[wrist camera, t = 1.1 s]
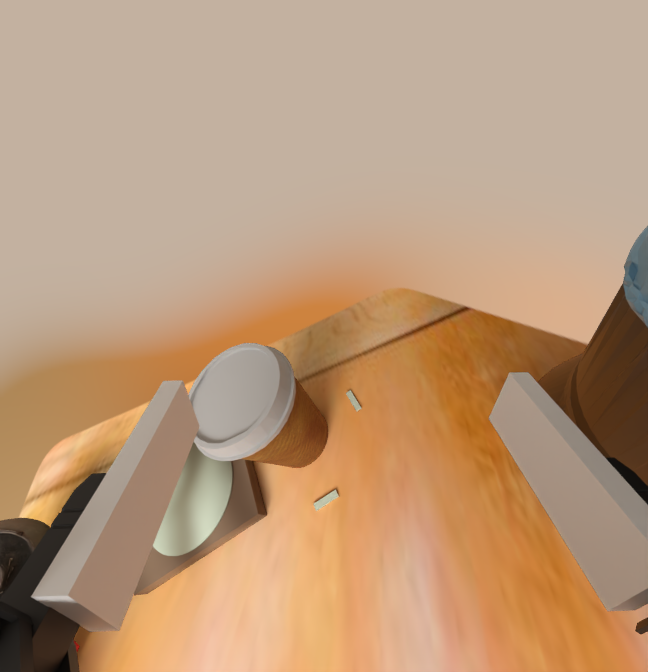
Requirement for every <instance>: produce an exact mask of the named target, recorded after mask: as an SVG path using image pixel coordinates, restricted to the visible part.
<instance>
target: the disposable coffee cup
mask: <svg viewBox="0 0 648 672" xmlns="http://www.w3.org/2000/svg"><path fill="white" fill-rule="evenodd" d="M188 396H189V399H190V401H191V404H192V407H193V409H194V412H195V415H196V418H197V420H198V423H199V426H200V427H199V429H198V432H197V434H196V437H195V439H194V443H195V444H196V446H197V448H198V449H199V450H200V451H201V452H202V453H203V454H204V455H205V456H207V457H209V458H211V459H214V460H218V461H234V460H238V459H245V460H251V461H257V462H263V463H269V464H275V465H282V466H288V467H293V468H301V467H305V466H307V465H309V464H311V463H312V462H313V461H315V460H316V459H317V458H318V457H319V456H320V455H321V453H322V451H323V449H324V448H325V445H326V442H327V438H328V428H327V424H326V421H325V419H324V417H323V416H322V415H321V413H320V412H319V410H318V409H317V408H316V406H315V405H314V403H313V402H312V400H311V399H310V398H309V396H308V395H307V393H306V392H305V391H304V389H303V388H302V386H301V385H300V384H299V382H298V381H297V379H296V378H295V377H294V372H293V369H292V367H291V364H290V362H289V361H288V359H287V358H286V357H285V356H284V354H283V353H281V352H280V351H278V350H276V349H275V348H272V347H268V346H262V345H260V344H257V343H244V344H241V345H237V346H234V347H231V348H229V349H228V350H226V351H224V352H222V353H221V354H219V355H218V356H217V357H215V358H214V359H213V360H212V361H211V362H210V363H209V364H208V365H207V366H206V367H205V368H204V369H203V370H202V372H201V373H200V375H199V376H198V377H197V379H196V380H195V382H194V384H193V386H192V388H191V390H190V392H189V395H188Z"/></svg>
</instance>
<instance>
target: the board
mask: <svg viewBox="0 0 648 672" xmlns="http://www.w3.org/2000/svg"><path fill="white" fill-rule="evenodd" d="M265 516H267V514H266V511H265V507H264V503H263V499H262V495H261V492H260V488H259V484H258V480H257V477H256V473H255V469H254V465H253V461H251V460H245V459H238V460H234V461H218V460H214V459H211V458H209V457H207V456H205V455H204V454H203V453H202V452H201V451H200V450H199V449H198V448H197V446H196V444H195V443H194V442H193V444H192V447H191V450H190V452H189V455H188V457H187V460H186V462H185V465H184V467H183V470H182V472H181V475H180V477H179V480H178V483H177V485H176V488H175V490H174V493H173V495H172V498H171V500H170V503H169V505H168V508H167V510H166V513H165V516H164V518H163V521H162V523H161V526H160V528H159V531H158V533H157V536H156V538H155V541H154V544H153V546H152V549H151V551H150V554H149V556H148V559H147V561H146V564H145V566H144V569H143V571H142V574H141V577H140V579H139V582H138V584H137V587H136V589H135V592H134V595H141V594H148V593H149V592H151V591H152V590H154V589H155V588H157V587H158V586H160V585H161V584H163V583H164V582H166V581H167V580H169V579H170V578H172V577H174V576H175V575H177V574H178V573H180V572H181V571H183V570H184V569H186V568H187V567H189V566H190V565H192V564H193V563H195V562H196V561H198V560H200V559H201V558H203V557H204V556H206V555H207V554H209V553H210V552H212V551H213V550H215V549H216V548H218V547H219V546H221V545H222V544H224V543H225V542H227V541H229V540H230V539H232V538H233V537H235V536H236V535H238V534H239V533H241V532H242V531H244V530H245V529H247V528H248V527H250V526H251V525H253V524H255V523H256V522H258V521H259V520H261V519H262V518H264V517H265Z"/></svg>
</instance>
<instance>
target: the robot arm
mask: <svg viewBox="0 0 648 672" xmlns="http://www.w3.org/2000/svg"><path fill="white" fill-rule="evenodd" d="M624 268H625V277H624V281H623V284H622V286H621V288H620V290H619V291H618V293H617V295H616V296H615V298H614V300H613V302H612V303H611V305H610V307H609V309H608V311H607V312H606V314H605V316H604V318H603V319H602V321H601V323H600V325H599V326H598V328H597V330H596V332H595V334H594V335H593V337H592V339H591V341H590V342H589V344H588V346H587V348H586V349H585V351H584V353H582V354H580V355H578V356H576V357H574V358H572V359H570V360H568V361H566V362H564V363H562V364H560V365H558V366H557V367H555V368H554V369H552V370H551V371H549V372H548V373H547V374H546V375H545V376H544V377H543V378H542V379H541V380H540V381H539V382H538V383H537V382H536V381H535V379H534V378H533V377H532V376H531V375H530V374H529V373H528V372H516V373H509V375H508V377H507V379H506V381H505V383H504V386H503V388H502V390H501V392H500V394H499V397H498V399H497V401H496V403H495V405H494V408H493V410H492V412H491V414H490V416H489V420H490V421H491V423H492V425H493V426H494V428H495V429H496V431H497V433H498V434H499V436H500V438H501V439H502V441H503V442H504V444H505V446H506V447H507V449H508V451H509V452H510V454H511V455H512V457H513V459H514V460H515V462H516V464H517V465H518V467H519V468H520V470H521V472H522V473H523V475H524V477H525V478H526V480H527V481H528V483H529V485H530V486H531V488H532V490H533V491H534V493H535V494H536V496H537V498H538V499H539V501H540V503H541V504H542V506H543V507H544V509H545V511H546V512H547V514H548V516H549V517H550V519H551V520H552V522H553V524H554V525H555V527H556V529H557V530H558V532H559V533H560V535H561V537H562V538H563V540H564V542H565V543H566V545H567V546H568V548H569V550H570V551H571V553H572V555H573V556H574V558H575V559H576V561H577V563H578V564H579V566H580V568H581V569H582V571H583V572H584V574H585V576H586V577H587V579H588V581H589V582H590V584H591V585H592V587H593V589H594V590H595V592H596V594H597V595H598V597H599V598H600V600H601V602H602V603H603V605H604V607H605V608H606V610H607V611H628V610H636V609H638V608H640V607H642V606H644V605H646V604H648V226H647V227H646V228H645V229H644V231H643V232H642V233H641V234H640V235H639V237H638V238H637V240H636V241H635V243H634V245H633V246H632V248H631V250H630V253H629V255H628V257H627V260H626V263H625V265H624ZM199 427H200V426H199V423H198V420H197V418H196V415H195V412H194V409H193V407H192V404H191V401H190V399H189V396H188V393H187V391H186V388H185V385H184V383H183V381H163V383H162V384H161V386H160V387H159V389H158V391H157V392H156V394H155V396H154V397H153V399H152V400H151V402H150V404H149V405H148V407H147V408H146V410H145V412H144V413H143V415H142V417H141V418H140V420H139V422H138V423H137V425H136V426H135V428H134V430H133V431H132V433H131V435H130V436H129V438H128V439H127V441H126V443H125V444H124V446H123V448H122V449H121V451H120V452H119V454H118V456H117V457H116V459H115V461H114V462H113V464H112V466H111V467H110V469H109V470H108V472H107V473H99V474H91V475H90V476H89V477H88V478H87V479H86V480H85V481H84V482H83V483H82V484H81V485H80V486H78V487H77V488H76V489H75V490H74V492H73V493H72V495H71V496H70V498H69V499H68V501H67V502H66V504H65V505H64V507H63V508H62V512H61V513H59V514H58V515H57V517H56V518H55V520H54V521H53V523H52V524H51V528H50V529H48V530H47V532H46V533H45V535H44V536H43V538H42V539H41V541H40V542H39V544H38V545H37V547H36V548H35V550H34V551H33V553H32V554H31V556H30V557H29V558H28V560H27V561H26V563H25V564H24V566H23V567H22V569H21V570H20V572H19V573H18V575H17V576H16V578H15V579H14V581H13V582H12V584H11V585H10V587H9V588H8V590H7V591H6V592H5V594H4V595H3V596H2V598H1V599H0V672H79V665H78V658H77V651H76V645H75V643H74V641H73V639H74V636H75V634H76V632H77V630H78V628H79V626H81V627H83V628H84V629H86V630H88V631H90V632H94V631H119V630H120V627H121V625H122V622H123V620H124V617H125V615H126V612H127V610H128V607H129V605H130V602H131V599H132V597H133V594H134V592H135V589H136V587H137V584H138V582H139V579H140V577H141V574H142V571H143V569H144V566H145V564H146V561H147V559H148V556H149V554H150V551H151V549H152V546H153V544H154V541H155V538H156V536H157V533H158V531H159V528H160V526H161V523H162V521H163V518H164V516H165V513H166V510H167V508H168V505H169V503H170V500H171V498H172V495H173V493H174V490H175V488H176V485H177V483H178V480H179V477H180V475H181V472H182V470H183V467H184V465H185V462H186V460H187V457H188V455H189V452H190V450H191V447H192V444H193V442H194V439H195V437H196V434H197V432H198V429H199ZM635 631H636V632H638V633H639V634H643V633H645V632H647V631H648V618H646V619H644V620H642V621H640V622H638V623H637V626H636V630H635Z"/></svg>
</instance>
